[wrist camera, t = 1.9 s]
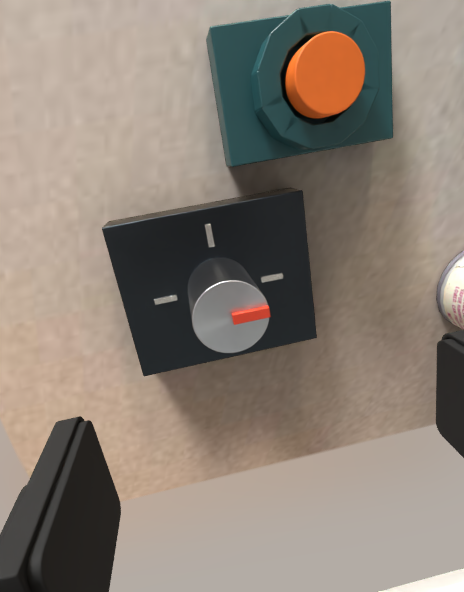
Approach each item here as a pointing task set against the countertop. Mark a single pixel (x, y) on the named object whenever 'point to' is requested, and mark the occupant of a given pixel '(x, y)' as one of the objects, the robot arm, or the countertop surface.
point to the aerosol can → (452, 292)
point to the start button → (325, 75)
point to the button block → (271, 83)
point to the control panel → (199, 248)
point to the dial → (226, 306)
